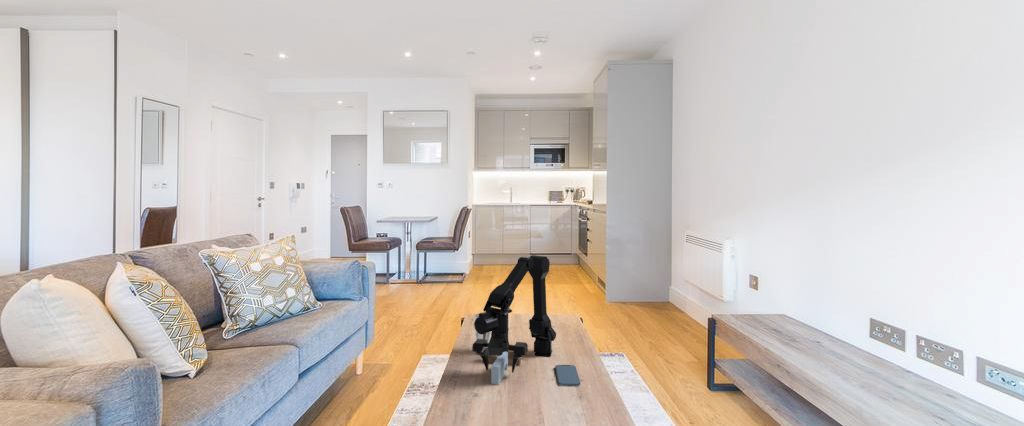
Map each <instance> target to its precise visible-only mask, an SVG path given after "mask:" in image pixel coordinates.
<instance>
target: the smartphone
mask: <svg viewBox="0 0 1024 426" xmlns="http://www.w3.org/2000/svg"><path fill="white" fill-rule="evenodd" d="M554 371H555V375H556V380H557V385H558V386H560V387H580V386H581V381H580V378H579V374H578V371H577V367H576V365H573V364H556V365H555V366H554Z"/></svg>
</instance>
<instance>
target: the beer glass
mask: <svg viewBox="0 0 1024 426" xmlns="http://www.w3.org/2000/svg"><path fill="white" fill-rule="evenodd" d="M478 317H479V313H476V314H474V321H475V320H476V318H478ZM473 327H474V326H473ZM473 331H474V336H475V341H476V340H477V339H486V340H487V343H489V341H490V338H491V332H492V331H490V332H488V333H485V334H479V333H478V332H477V331H476V330H475V327H474V330H473Z"/></svg>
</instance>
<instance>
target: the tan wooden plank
mask: <svg viewBox="0 0 1024 426" xmlns="http://www.w3.org/2000/svg"><path fill="white" fill-rule="evenodd" d="M513 355H514V351H510V350H508V366H512V364H513ZM497 357H498V356H497V355H489V354H488V361H489V364H493V363H494V362H495V360H496V359H497ZM521 361H522V357H521V358H518V360H517V363H516V366H518V367H519V366H521V364H522V362H521ZM482 363H483V364H484V362H482Z"/></svg>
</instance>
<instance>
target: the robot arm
mask: <svg viewBox="0 0 1024 426" xmlns="http://www.w3.org/2000/svg"><path fill="white" fill-rule="evenodd" d="M549 272H550V259H549V258H548V257H547V256H546V255H545V256H544V255H535V254H532V255H530V256H529V257H526V256H521V257H519V258H518V260H517V262H516V264H515V266H514V267H513V268H512V270H511V271H510V273H509V274H508V275H507V276H506V278H505V280H504V281H503V283H501V284H499V285H497V286H496V287H495V288H494V289H492V291H491V292H490V293H489V296H488V298H487V300H486V302H485V305H484V307H483V309H482V310H483V312H480V313H478V314H479V317H478V318H476V320H475V319H474V322H473V325H474V326H473V327H475V330H476V331H477V332H478V333H479V334H485V333H488V332H490V331H491V336H490V341H489V343H487V340H486V339H477V340H476V339H475V341H474V342H473V343H472V346H471V347H472V349H471V350H472V352H474V353H475V354H476V355H479V356H480V358H481V359H482V361H483V362H484V363H483V362H482V363H483V366H484V368H485V369H486V371H488V370H489V364H490V363H489V361H488V354H489V355H497V356H501V355H502V354H503V352H508V350H510V351H514V355H513V364H512V365H511V373H512V374H513V373H514V372H515V369H516V366H517V365H516V363H517V360H518V358H521V359H522V357H524V356H526V354H527V353H528V349H529V348H528V347H529V345H528V343H527V342H525V341H524V342H522V341H516V343H514V344H510V341H509V329H510V328H509V314H511V313H512V312H513V309H511V308H510V307H511V305H512V303H513V302H514V300H515V292H516V290H517V288H518V287H519V285H520V284H521V282H522V281H523V279H524V278H525V276H526V274H527V273H529V276H530V277H531V279H532V297H533V298H532V299H533V300H532V301H533V315H532V317H531V318H529V320H528V323H529V324H528V326H529V327H528V329H529V331H530V335H531V337H532V338H533V339H534V342H533V353H534V356H536V357H537V356H540V357H551V356H552V353H553V349H552V348H553V341H555V340H556V338H557V332H556V331H555V329H554V327H552V320H551V319H550V317H549V315H548V313H547V290H546V286H547V285H546V277H547V276H548V274H549ZM475 330H474V331H475Z"/></svg>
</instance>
